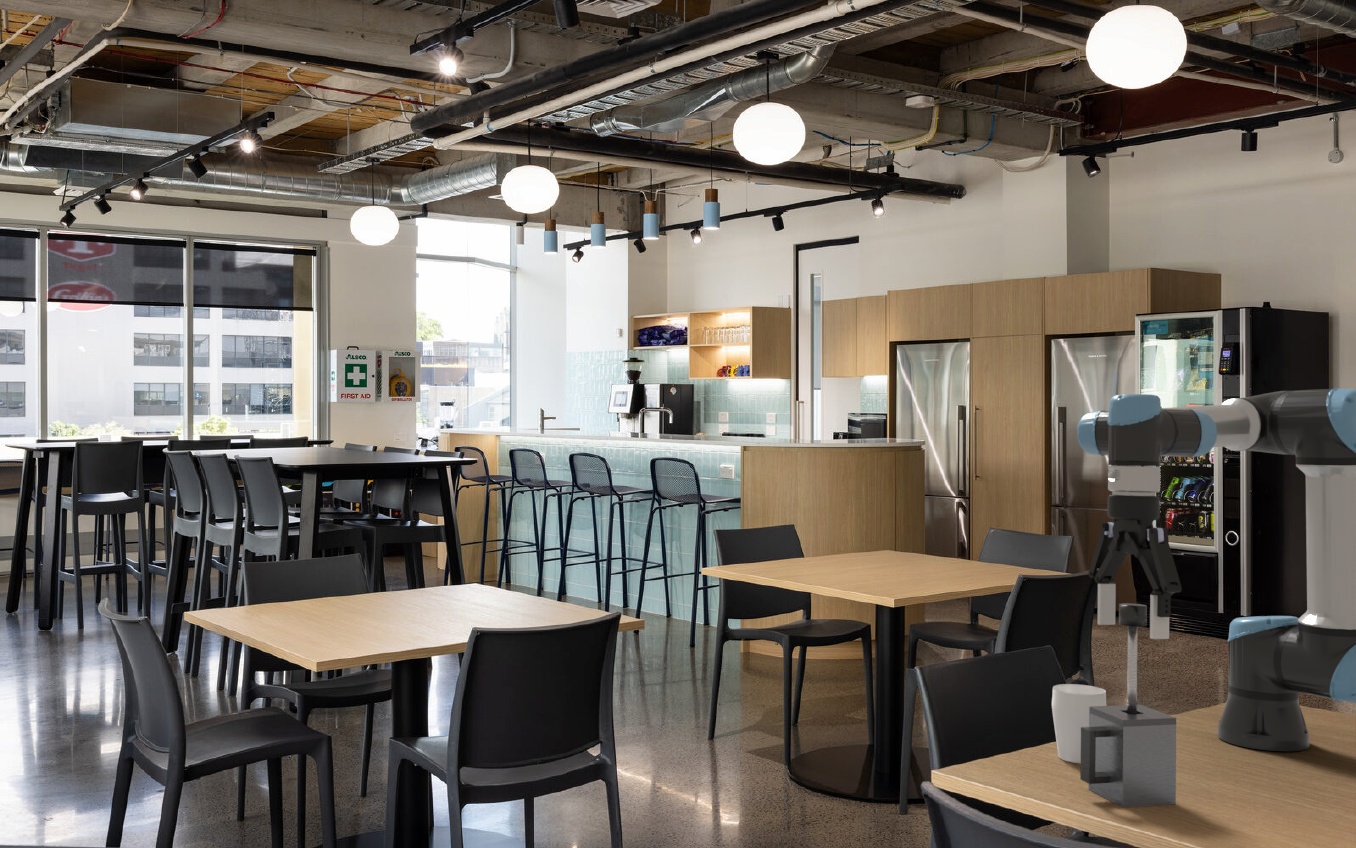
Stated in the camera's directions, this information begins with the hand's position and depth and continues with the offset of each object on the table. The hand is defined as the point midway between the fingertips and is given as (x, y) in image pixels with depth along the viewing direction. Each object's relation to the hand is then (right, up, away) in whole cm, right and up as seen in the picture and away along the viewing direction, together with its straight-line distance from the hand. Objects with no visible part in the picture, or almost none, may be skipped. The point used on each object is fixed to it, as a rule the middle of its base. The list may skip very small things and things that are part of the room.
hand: (1131, 631), depth 178 cm
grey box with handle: (-2, -25, -1) cm, 25 cm away
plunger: (0, -16, 0) cm, 16 cm away
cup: (-1, -26, +21) cm, 33 cm away
